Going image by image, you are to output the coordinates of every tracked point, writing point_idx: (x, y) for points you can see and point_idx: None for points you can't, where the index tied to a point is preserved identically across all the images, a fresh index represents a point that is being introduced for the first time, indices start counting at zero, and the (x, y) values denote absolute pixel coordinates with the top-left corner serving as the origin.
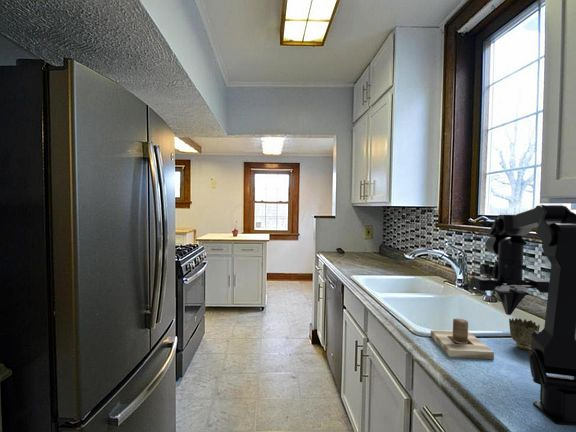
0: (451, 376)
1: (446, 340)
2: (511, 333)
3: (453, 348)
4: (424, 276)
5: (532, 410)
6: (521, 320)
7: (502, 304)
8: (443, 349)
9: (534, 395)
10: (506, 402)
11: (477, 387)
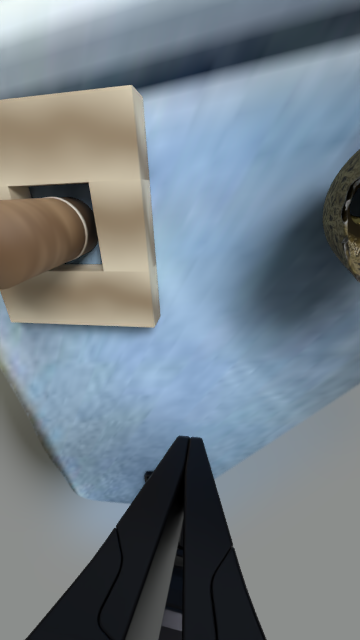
0: (22, 397)
1: None
2: (327, 200)
3: (23, 309)
4: None
5: (135, 480)
6: None
7: (134, 502)
8: None
9: None
10: (102, 464)
11: (66, 429)
